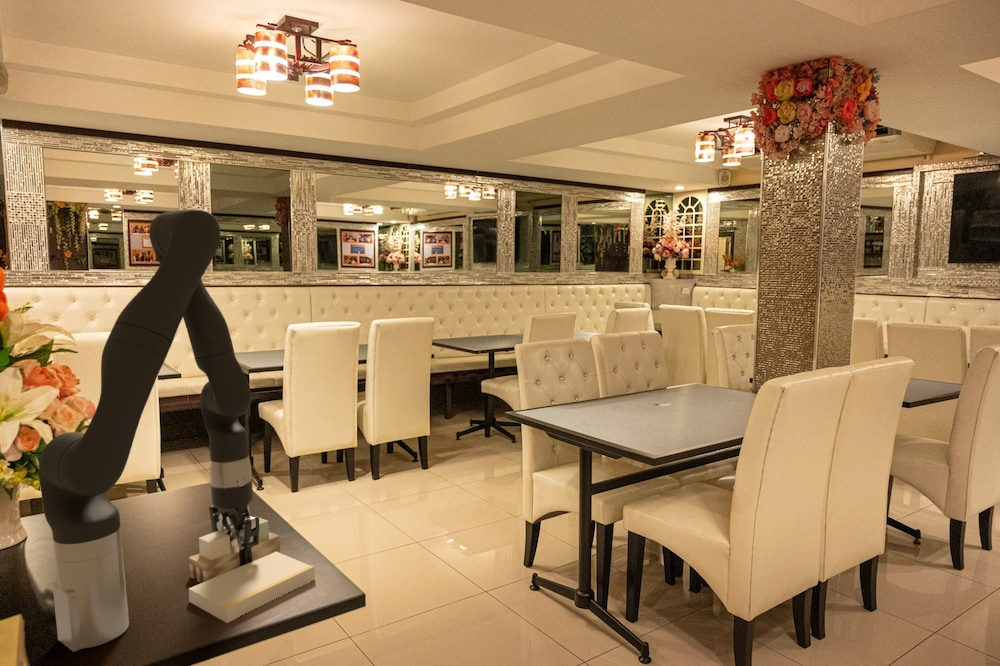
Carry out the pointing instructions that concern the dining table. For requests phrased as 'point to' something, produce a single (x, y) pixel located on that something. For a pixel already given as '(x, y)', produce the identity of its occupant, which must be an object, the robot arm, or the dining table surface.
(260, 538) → the block
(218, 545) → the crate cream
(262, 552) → the pallet
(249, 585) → the dock
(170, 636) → the dining table surface
